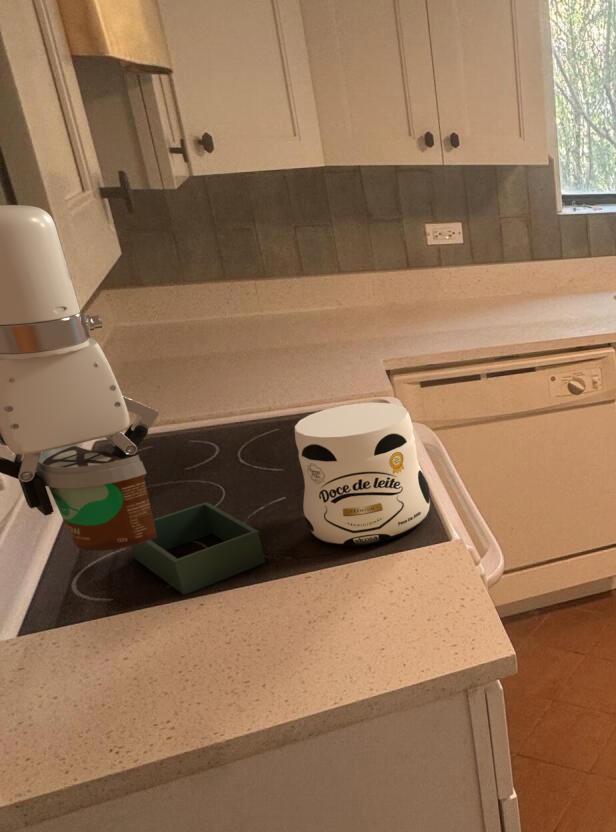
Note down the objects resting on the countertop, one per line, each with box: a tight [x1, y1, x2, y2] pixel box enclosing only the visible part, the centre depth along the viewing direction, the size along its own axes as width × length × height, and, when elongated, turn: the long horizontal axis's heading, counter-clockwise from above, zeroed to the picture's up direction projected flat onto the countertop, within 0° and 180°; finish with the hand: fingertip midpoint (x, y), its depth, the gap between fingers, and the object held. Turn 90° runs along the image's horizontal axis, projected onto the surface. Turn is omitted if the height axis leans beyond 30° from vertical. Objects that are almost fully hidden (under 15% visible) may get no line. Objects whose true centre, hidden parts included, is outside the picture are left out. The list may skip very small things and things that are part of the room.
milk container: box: [294, 402, 431, 547], centre depth 117 cm, size 17×17×18 cm
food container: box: [36, 444, 157, 552], centre depth 83 cm, size 12×6×10 cm, turn 67°
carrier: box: [131, 501, 266, 596], centre depth 110 cm, size 16×10×6 cm, turn 55°
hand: (88, 497), depth 83 cm, fingers closed on food container, 6 cm apart
